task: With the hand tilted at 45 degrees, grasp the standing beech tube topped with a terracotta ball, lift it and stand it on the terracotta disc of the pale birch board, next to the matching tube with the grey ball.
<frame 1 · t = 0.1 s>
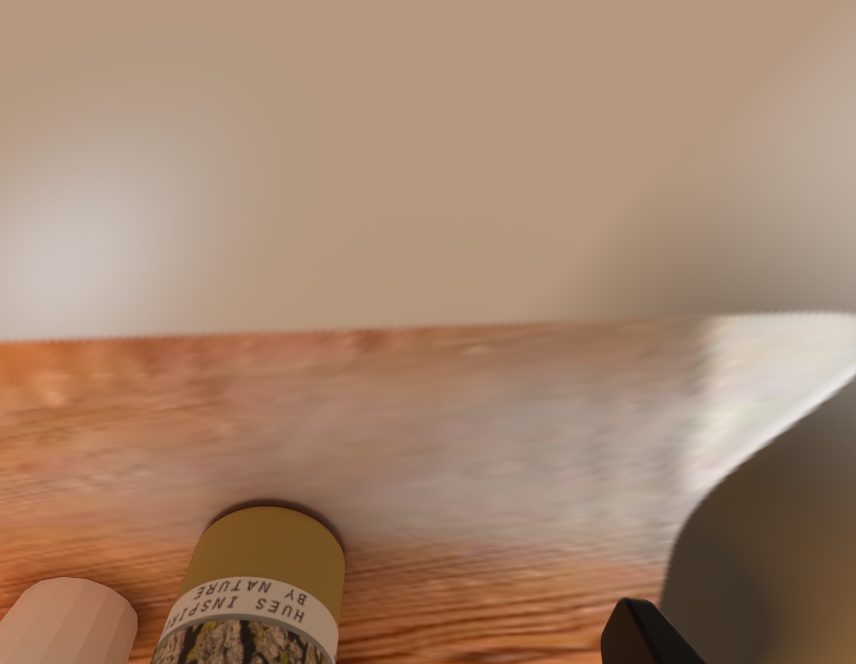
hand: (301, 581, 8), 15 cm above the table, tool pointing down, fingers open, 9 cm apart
white tapered cylinder: (81, 612, 31), on the table
paper tube: (274, 549, 29), on the table
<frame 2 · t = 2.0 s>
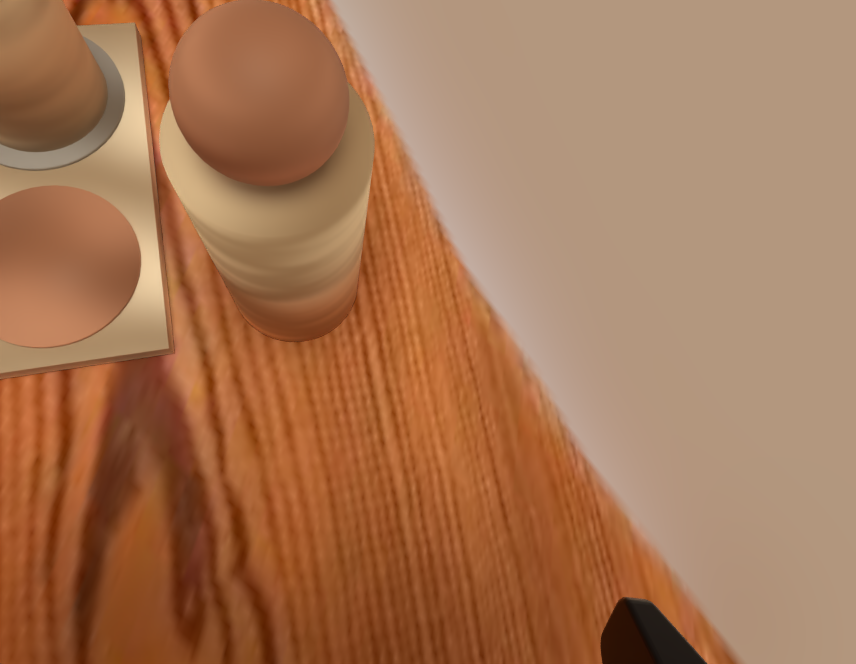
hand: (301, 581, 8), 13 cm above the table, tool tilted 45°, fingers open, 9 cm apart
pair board: (55, 196, 23), on the table
grey ball tube: (39, 94, 22), resting on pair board
terracotta ball tube: (295, 282, 23), on the table
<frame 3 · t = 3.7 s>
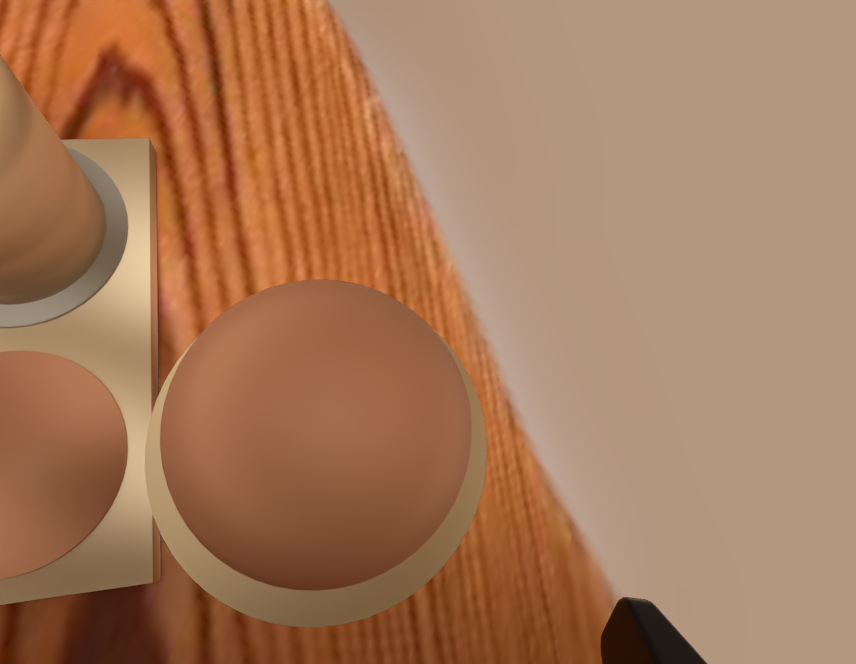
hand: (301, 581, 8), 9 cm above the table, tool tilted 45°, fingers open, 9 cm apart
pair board: (27, 356, 18), on the table
grey ball tube: (19, 228, 18), resting on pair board
terracotta ball tube: (325, 481, 18), on the table
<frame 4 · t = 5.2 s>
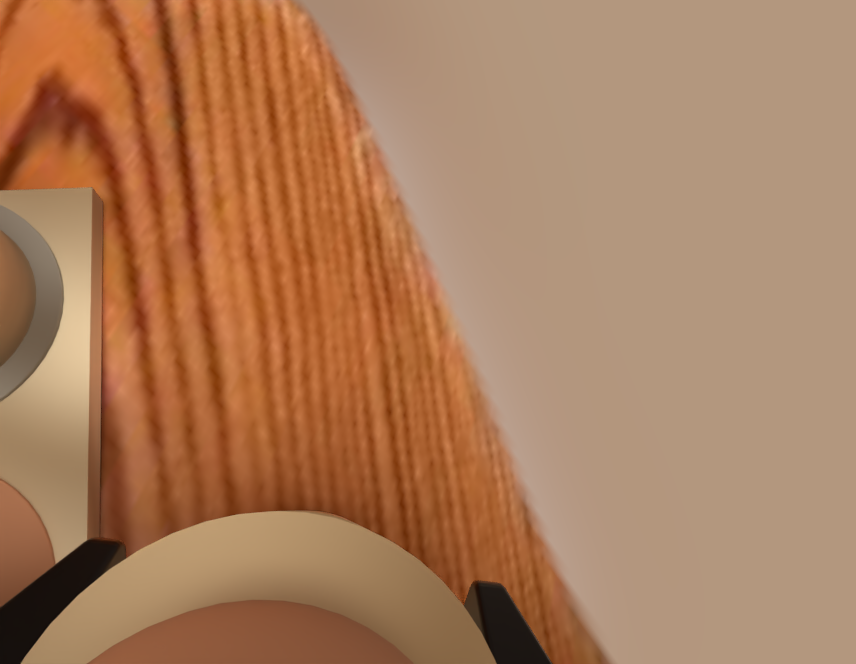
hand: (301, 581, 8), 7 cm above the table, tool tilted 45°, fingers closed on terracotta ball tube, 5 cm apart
terracotta ball tube: (303, 610, 15), on the table, touching gripper
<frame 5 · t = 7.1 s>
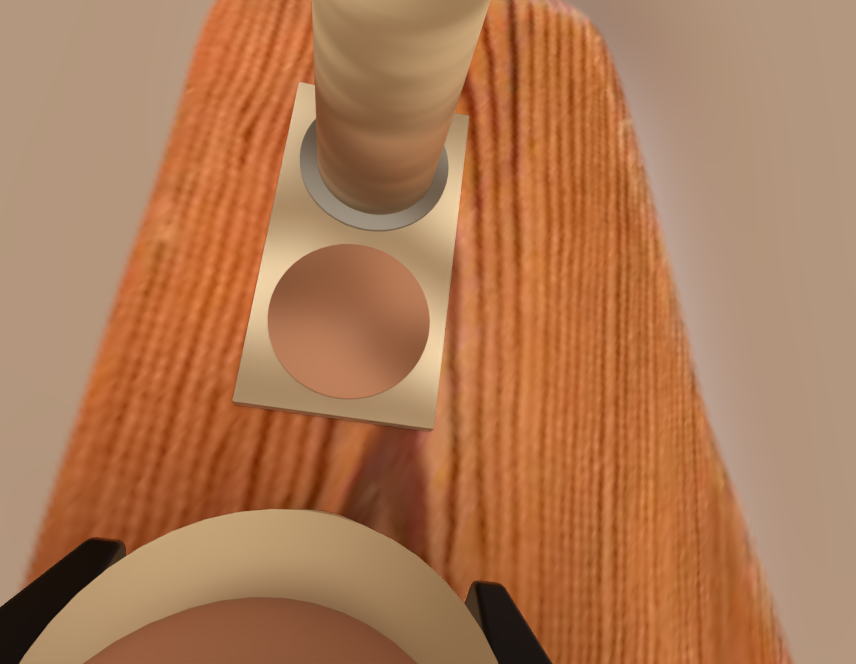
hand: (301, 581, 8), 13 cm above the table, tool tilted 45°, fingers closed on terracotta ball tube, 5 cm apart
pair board: (361, 252, 24), on the table
grey ball tube: (377, 160, 24), resting on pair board
terracotta ball tube: (303, 610, 15), point 6 cm above the table, touching gripper
when the fingers open (9 cm above the table, at t = 9.2 s): terracotta ball tube stays where it is, resting on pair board.
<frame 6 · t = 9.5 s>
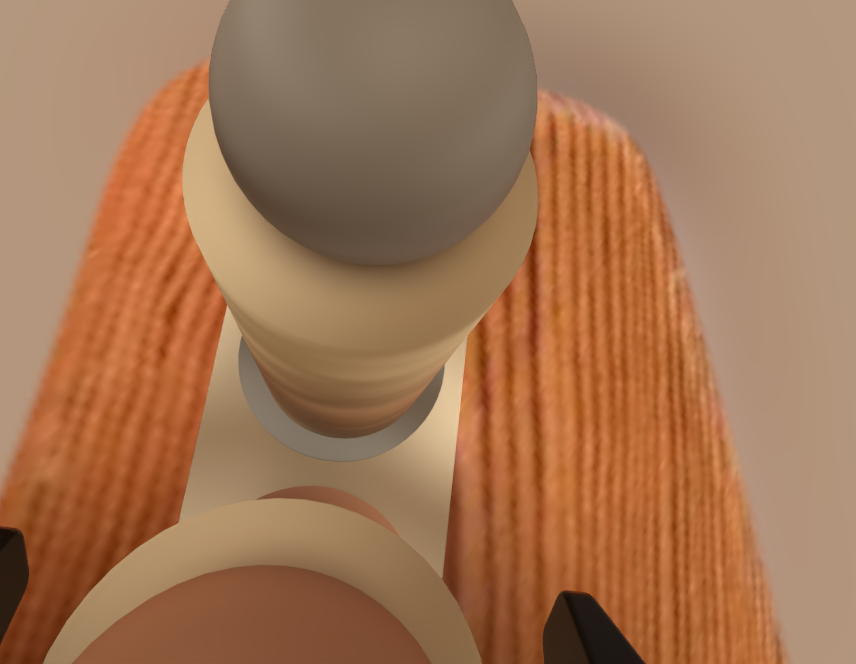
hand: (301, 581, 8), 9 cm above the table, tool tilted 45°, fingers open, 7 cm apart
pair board: (324, 484, 17), on the table
grey ball tube: (346, 356, 18), resting on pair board
terracotta ball tube: (304, 607, 16), point 1 cm above the table, touching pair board
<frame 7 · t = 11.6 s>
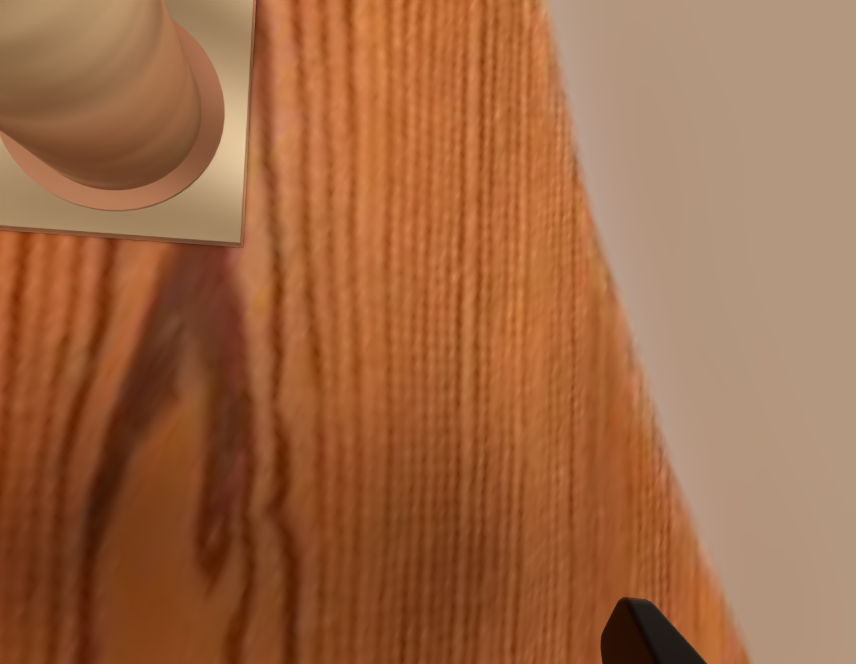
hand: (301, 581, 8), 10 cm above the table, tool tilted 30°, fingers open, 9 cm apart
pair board: (129, 14, 18), on the table
terracotta ball tube: (112, 105, 17), point 1 cm above the table, touching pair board
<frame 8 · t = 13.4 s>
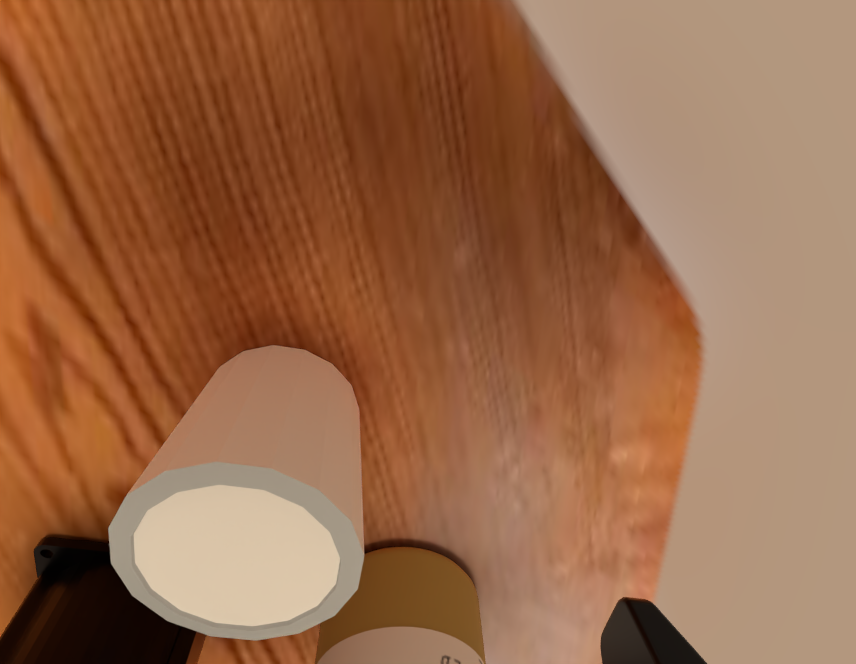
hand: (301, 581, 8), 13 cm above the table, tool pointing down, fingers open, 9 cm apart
white tapered cylinder: (284, 407, 23), on the table
paper tube: (401, 588, 28), on the table
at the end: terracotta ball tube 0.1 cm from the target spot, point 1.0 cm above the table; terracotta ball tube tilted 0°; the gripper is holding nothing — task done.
